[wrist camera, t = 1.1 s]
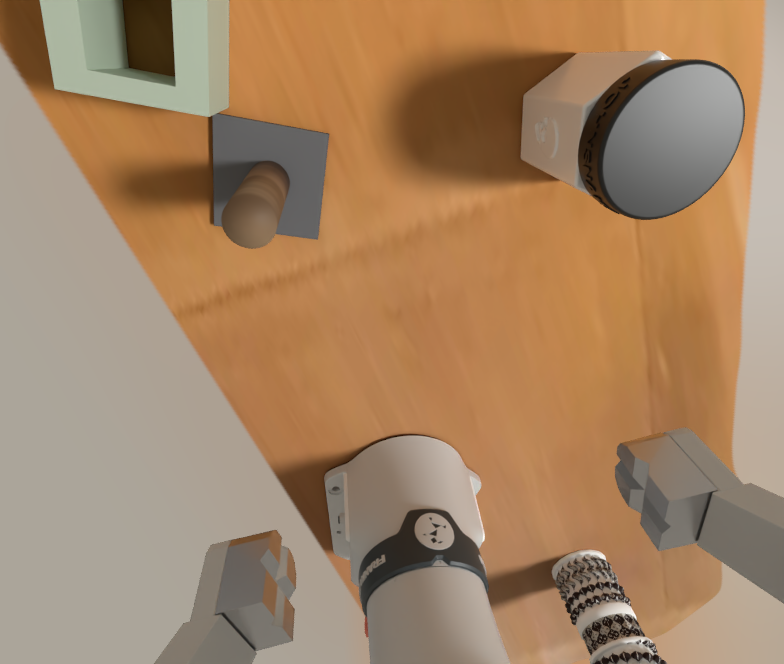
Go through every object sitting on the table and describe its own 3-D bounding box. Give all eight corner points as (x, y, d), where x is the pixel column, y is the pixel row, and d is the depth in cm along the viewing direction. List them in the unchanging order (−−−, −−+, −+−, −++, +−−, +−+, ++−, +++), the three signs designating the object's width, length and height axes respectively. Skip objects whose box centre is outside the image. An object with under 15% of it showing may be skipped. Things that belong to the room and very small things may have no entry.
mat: (318, 238, 37) (317, 239, 36) (215, 223, 35) (214, 225, 35) (329, 133, 33) (329, 134, 32) (213, 112, 31) (212, 113, 31)
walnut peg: (288, 204, 35) (275, 251, 26) (248, 198, 34) (221, 244, 26) (291, 164, 33) (278, 200, 25) (249, 157, 33) (221, 192, 24)
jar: (521, 59, 32) (611, 60, 22) (631, 45, 32) (771, 39, 22) (515, 187, 36) (587, 237, 26) (612, 173, 37) (719, 217, 27)
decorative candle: (618, 548, 67) (753, 775, 46) (590, 583, 71) (701, 805, 50) (564, 546, 65) (679, 783, 44) (539, 582, 69) (632, 813, 48)
